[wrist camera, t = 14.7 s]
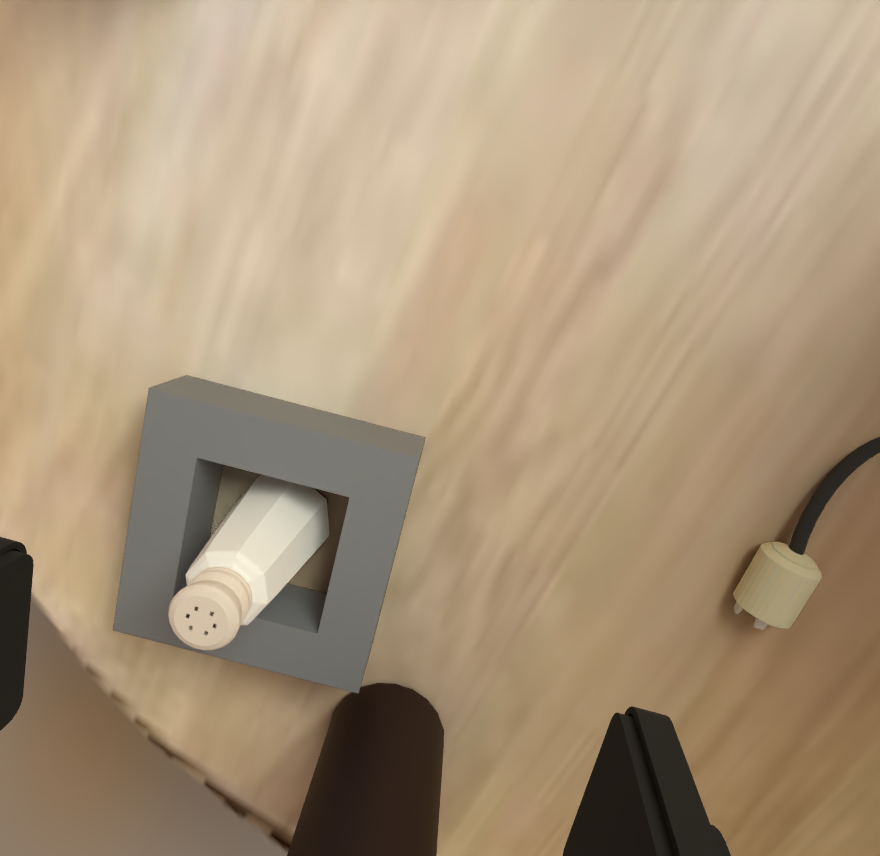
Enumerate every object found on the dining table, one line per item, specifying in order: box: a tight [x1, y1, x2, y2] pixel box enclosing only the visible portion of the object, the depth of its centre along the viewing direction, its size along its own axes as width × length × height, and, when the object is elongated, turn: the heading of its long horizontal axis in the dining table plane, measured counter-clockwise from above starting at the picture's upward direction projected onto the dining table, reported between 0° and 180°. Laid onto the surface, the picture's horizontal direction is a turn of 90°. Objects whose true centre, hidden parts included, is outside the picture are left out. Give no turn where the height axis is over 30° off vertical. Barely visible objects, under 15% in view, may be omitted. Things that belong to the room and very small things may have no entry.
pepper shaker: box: [168, 475, 330, 650], centre depth 30 cm, size 5×5×11 cm
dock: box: [113, 375, 425, 694], centre depth 33 cm, size 13×13×4 cm
